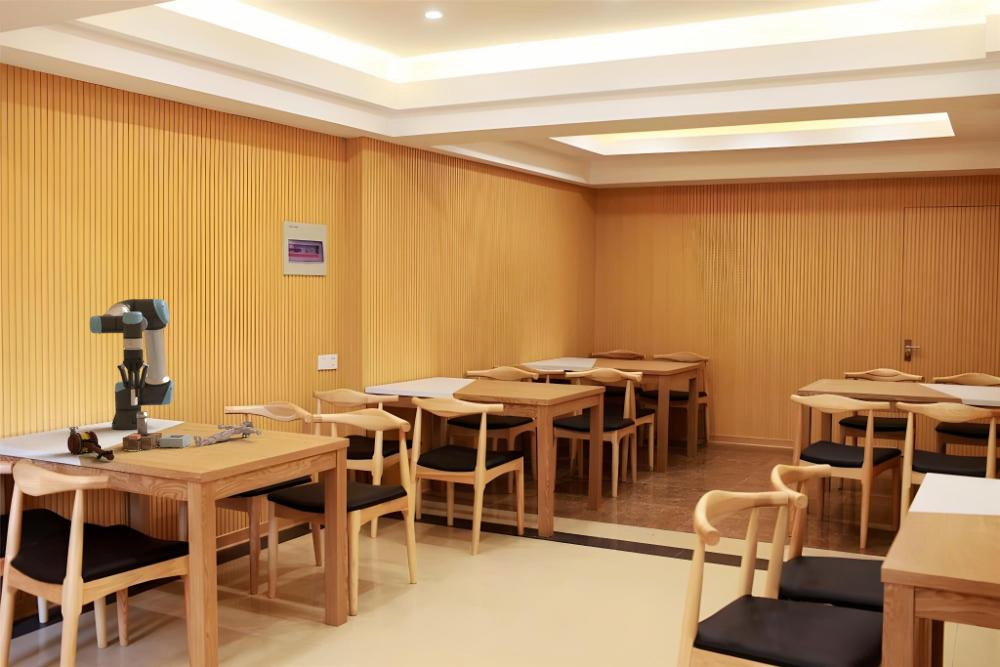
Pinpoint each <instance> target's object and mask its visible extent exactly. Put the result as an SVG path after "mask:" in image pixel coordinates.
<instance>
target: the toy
mask: <svg viewBox="0 0 1000 667" xmlns="http://www.w3.org/2000/svg"><path fill="white" fill-rule="evenodd" d="M217 429H218V430H222V431H218V432H216V433H214V434H211V435H209V437H206V438H204V439H203V437H202V436H201V435H196V434H195V435H193V440H194V444H195V446H197V447H198V446H199V447H203V446H204V445H206V446H207V445H210V444H211V445H214V444H215V443H216V442H217V441H220V442H221V441H225V440H227V441H228V440H230V438H231V437H232V436H234V435H240V434H241V436H242V438H244V439H245V438H247V437H250V436H251V434H254V435H255V434H256V436H261V435H262V431H261V429H256V430H255V429H254V424H253V421H252V420H251V421H249V420H247V421H243V422H242V423H241V424H240V425H236V424H229V425H222V424H220V423H219V424H217Z"/></svg>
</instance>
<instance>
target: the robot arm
mask: <svg viewBox="0 0 1000 667" xmlns="http://www.w3.org/2000/svg"><path fill="white" fill-rule="evenodd" d="M169 323H170V310H169V306H168V302H167V301H166V300H164V299H161V298H160V299H159V298H129V299H124V300H121V301H118V302H116V303H114V304H113V305H111V306H109V308H108V311H107V312H104V313H103V314H102V315H98V314H97V315H92V316H90V319H89V330H90V333H91V334H123V335H122V336H123V338H122V339H123V361H122V363H121V364H119V365H117V366H116V367H117V369H118V370H119V372H120V377H121V380H120V381H118V382H116V383H115V385H114V400H115V401H114V402H115V403H114V405H115V406H114V407H115V408H114V409H115V413H114V416H113V419H112V422H111V429H112V430H117V431H123V430H124V431H126V430H127V431H128V430H137V412H143V411H142V406H167V405H170V404H171V403H172V402H173V397H174V389H175V388H174V386H175V382H174V380H171V377H170V376H169V375H168V374H167V365H166V362H167V361H166V353H165V352H166V350H165V336H164V329H166V328H167V325H168V324H169ZM143 334H144V336H143ZM143 338H144V340H143ZM143 343H144V344H143ZM144 347H145V359H146V361H144V350H143V348H144ZM145 362H146V363H145ZM141 369H142V371H141ZM126 370H127V372H126ZM140 372H141V375H140Z"/></svg>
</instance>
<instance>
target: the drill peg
mask: <svg viewBox="0 0 1000 667" xmlns="http://www.w3.org/2000/svg"><path fill="white" fill-rule="evenodd" d="M148 414H149V413H148V411H142V412H137V429H136V431H137V432H136V433H137V434H141V437H147V436H148V433H149V432H148V417H149V416H148Z"/></svg>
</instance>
